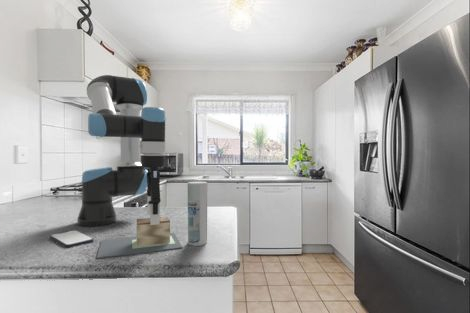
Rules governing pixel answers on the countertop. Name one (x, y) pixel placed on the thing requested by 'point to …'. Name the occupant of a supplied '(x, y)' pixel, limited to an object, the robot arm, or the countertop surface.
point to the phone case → (71, 238)
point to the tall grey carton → (197, 213)
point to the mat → (133, 247)
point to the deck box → (153, 232)
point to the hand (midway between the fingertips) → (152, 219)
